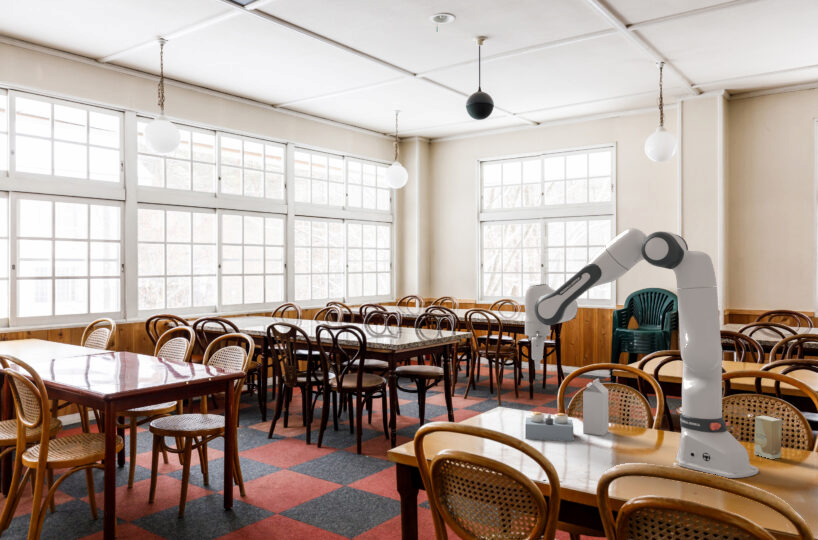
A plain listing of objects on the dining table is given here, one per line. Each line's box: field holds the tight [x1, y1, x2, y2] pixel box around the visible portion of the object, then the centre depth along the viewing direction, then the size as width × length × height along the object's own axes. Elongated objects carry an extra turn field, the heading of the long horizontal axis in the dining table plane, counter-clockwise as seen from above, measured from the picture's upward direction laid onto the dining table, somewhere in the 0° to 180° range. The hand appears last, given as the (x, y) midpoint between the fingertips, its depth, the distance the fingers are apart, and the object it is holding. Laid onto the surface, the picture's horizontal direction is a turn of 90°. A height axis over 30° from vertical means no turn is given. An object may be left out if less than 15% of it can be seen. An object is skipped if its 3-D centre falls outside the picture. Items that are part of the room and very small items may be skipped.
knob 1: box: [530, 411, 545, 423], centre depth 222 cm, size 4×4×8 cm
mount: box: [524, 417, 574, 442], centre depth 221 cm, size 16×10×5 cm, turn 78°
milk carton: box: [582, 377, 609, 437], centre depth 226 cm, size 7×7×19 cm
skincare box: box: [754, 415, 783, 460], centre depth 197 cm, size 6×4×12 cm
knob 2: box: [554, 412, 569, 424], centre depth 220 cm, size 4×4×8 cm
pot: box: [544, 413, 554, 425], centre depth 218 cm, size 3×3×3 cm
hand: (537, 369), depth 222 cm, fingers closed
